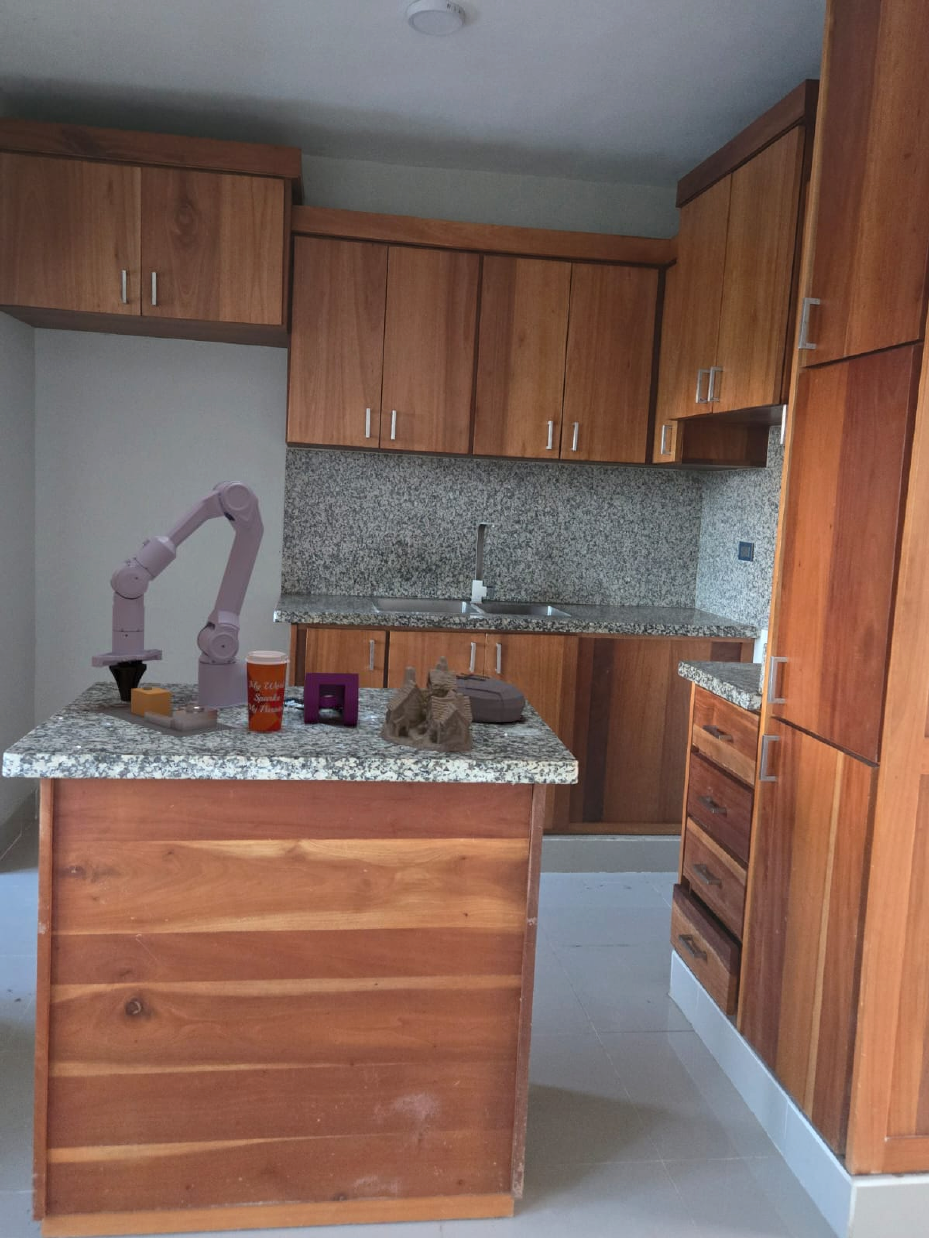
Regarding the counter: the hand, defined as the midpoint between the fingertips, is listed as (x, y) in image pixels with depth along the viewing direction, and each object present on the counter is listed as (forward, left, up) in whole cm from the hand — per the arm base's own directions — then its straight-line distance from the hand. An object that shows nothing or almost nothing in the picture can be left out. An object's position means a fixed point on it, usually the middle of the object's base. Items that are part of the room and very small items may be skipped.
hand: (127, 701), depth 190 cm
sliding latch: (0, +18, -1) cm, 18 cm away
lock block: (0, +8, -1) cm, 8 cm away
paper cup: (-10, +30, -2) cm, 31 cm away
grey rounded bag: (-51, +44, -2) cm, 67 cm away
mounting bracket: (-27, +27, -2) cm, 38 cm away
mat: (0, +13, -2) cm, 13 cm away
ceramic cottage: (-27, +52, -2) cm, 59 cm away
